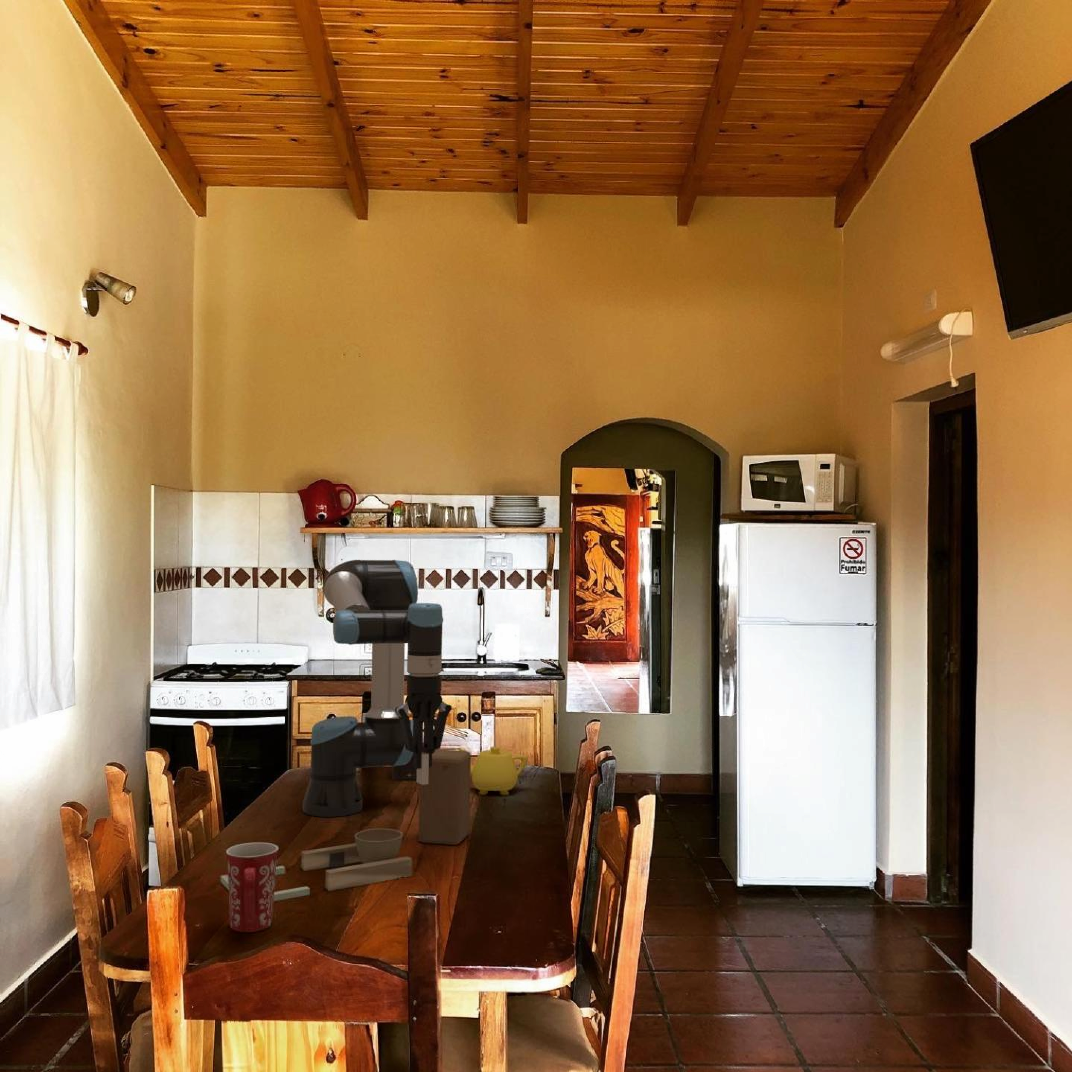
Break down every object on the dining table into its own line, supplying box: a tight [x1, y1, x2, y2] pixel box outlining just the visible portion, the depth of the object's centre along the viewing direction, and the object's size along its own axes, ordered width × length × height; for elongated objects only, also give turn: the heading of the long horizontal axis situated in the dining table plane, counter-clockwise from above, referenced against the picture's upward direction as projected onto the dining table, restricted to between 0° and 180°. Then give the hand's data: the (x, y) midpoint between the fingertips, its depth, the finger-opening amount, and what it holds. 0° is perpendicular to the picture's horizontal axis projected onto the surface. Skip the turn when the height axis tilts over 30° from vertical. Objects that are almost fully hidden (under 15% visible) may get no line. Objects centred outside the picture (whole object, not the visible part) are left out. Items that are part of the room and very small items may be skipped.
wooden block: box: [417, 748, 472, 846], centre depth 229 cm, size 10×10×20 cm
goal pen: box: [220, 865, 311, 902], centre depth 194 cm, size 16×13×1 cm
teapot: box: [457, 746, 529, 796], centre depth 276 cm, size 13×20×12 cm
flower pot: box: [354, 828, 403, 864], centre depth 207 cm, size 10×10×7 cm
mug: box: [225, 841, 279, 933], centre depth 173 cm, size 13×9×14 cm
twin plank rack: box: [300, 842, 413, 892], centre depth 204 cm, size 16×18×4 cm
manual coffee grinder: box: [391, 718, 437, 781], centre depth 292 cm, size 16×11×18 cm
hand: (422, 782), depth 212 cm, fingers closed
